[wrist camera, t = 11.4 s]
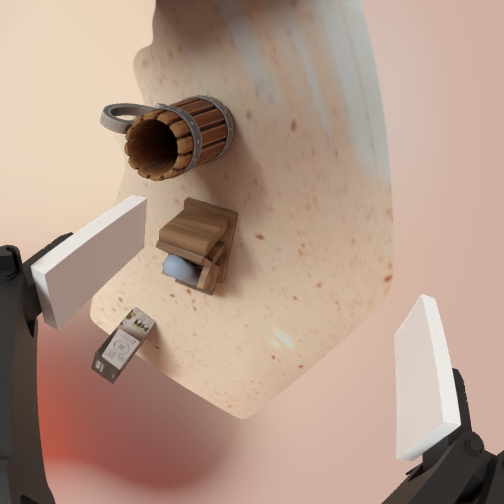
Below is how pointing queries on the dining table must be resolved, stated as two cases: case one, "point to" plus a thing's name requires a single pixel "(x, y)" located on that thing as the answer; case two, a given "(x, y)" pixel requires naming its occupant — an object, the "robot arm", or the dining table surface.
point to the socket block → (200, 241)
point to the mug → (172, 134)
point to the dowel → (181, 270)
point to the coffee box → (122, 345)
